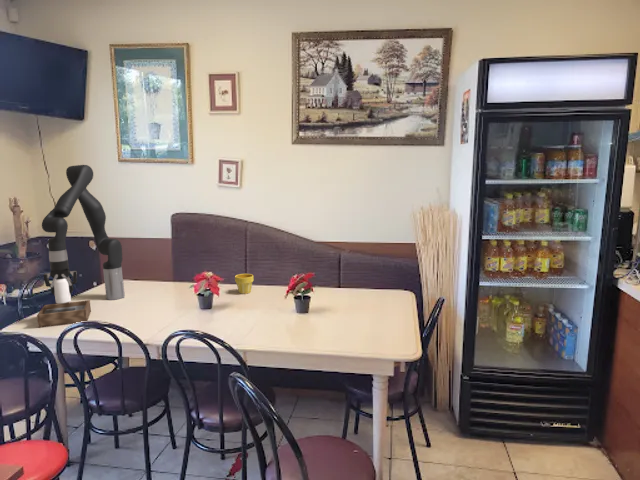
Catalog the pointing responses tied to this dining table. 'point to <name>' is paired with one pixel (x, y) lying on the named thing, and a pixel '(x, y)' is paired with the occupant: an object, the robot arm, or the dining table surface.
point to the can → (62, 291)
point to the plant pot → (244, 283)
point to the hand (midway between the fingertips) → (62, 293)
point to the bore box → (64, 313)
